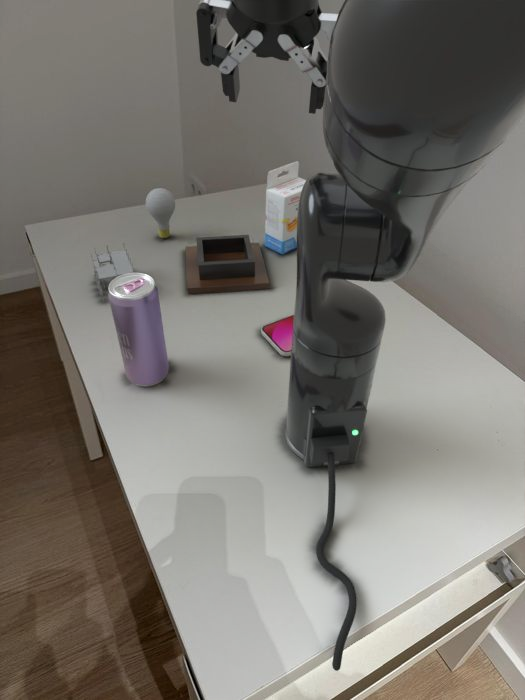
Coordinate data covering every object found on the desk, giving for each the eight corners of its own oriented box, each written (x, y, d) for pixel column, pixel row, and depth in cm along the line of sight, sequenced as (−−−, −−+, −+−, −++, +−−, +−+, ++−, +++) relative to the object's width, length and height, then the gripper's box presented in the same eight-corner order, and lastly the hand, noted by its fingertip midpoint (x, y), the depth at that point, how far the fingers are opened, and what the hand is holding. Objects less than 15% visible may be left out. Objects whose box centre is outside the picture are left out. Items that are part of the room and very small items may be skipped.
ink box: (282, 256, 97) (285, 180, 87) (264, 246, 100) (265, 171, 90) (312, 241, 102) (318, 167, 92) (294, 232, 104) (298, 159, 95)
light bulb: (176, 244, 100) (171, 195, 93) (148, 244, 100) (141, 195, 93) (180, 231, 104) (175, 183, 97) (153, 230, 104) (146, 183, 97)
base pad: (269, 288, 89) (269, 267, 86) (187, 294, 87) (185, 273, 85) (258, 247, 99) (259, 228, 97) (185, 252, 98) (183, 232, 95)
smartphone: (258, 327, 79) (336, 297, 85) (258, 332, 80) (336, 302, 86) (284, 354, 75) (365, 321, 80) (284, 359, 75) (364, 326, 81)
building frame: (102, 302, 85) (94, 271, 81) (94, 277, 91) (87, 248, 87) (139, 294, 87) (134, 264, 83) (129, 270, 93) (124, 241, 89)
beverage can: (178, 373, 73) (166, 284, 63) (144, 395, 69) (126, 305, 60) (151, 353, 76) (136, 266, 66) (118, 374, 72) (96, 285, 63)
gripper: (172, -43, 39) (200, 120, 54) (360, -21, 38) (335, 139, 53) (196, -106, 41) (217, 67, 57) (373, -87, 40) (345, 84, 55)
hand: (274, 101), depth 55 cm, fingers open, 8 cm apart
